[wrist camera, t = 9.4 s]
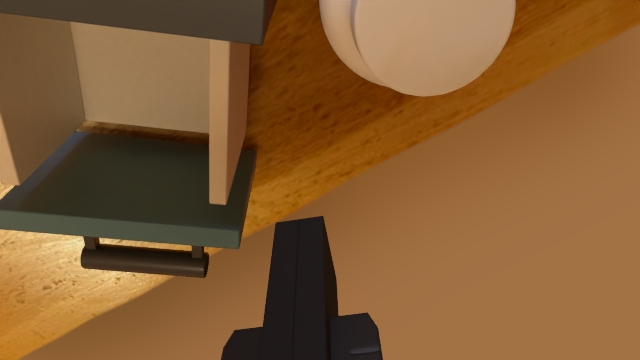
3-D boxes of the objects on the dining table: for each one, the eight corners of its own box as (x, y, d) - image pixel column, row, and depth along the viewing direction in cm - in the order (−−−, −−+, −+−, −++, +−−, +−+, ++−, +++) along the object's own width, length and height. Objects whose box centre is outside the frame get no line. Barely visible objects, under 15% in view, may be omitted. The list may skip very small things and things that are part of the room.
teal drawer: (252, 225, 32) (236, 317, 25) (86, 210, 31) (19, 302, 24) (272, -93, 21) (254, -91, 14) (23, -131, 20) (-127, -148, 13)
